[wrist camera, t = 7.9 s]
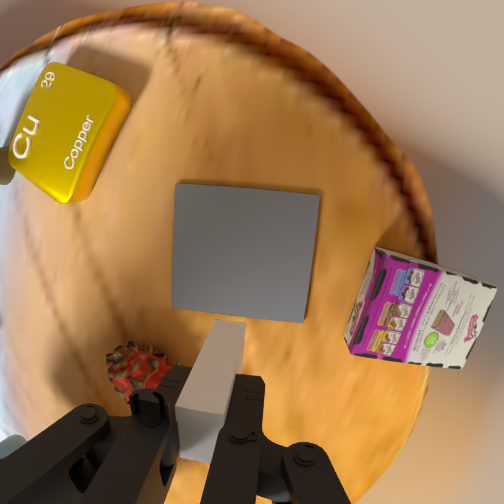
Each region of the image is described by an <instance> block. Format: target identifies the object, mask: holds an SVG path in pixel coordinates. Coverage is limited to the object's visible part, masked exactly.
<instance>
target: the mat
mask: <svg viewBox="0 0 504 504" xmlns="http://www.w3.org/2000/svg"><path fill="white" fill-rule="evenodd" d="M319 201H320V195H313V194H304V193H295V192H286V191H275V190H265V189H253V188H241V187H227V186H212V185H195V184H176V188H175V205H174V227H173V266H172V307H174V308H181V309H187V310H194V311H201V312H208V313H216V314H223V315H231V316H239V317H248V318H256V319H266V320H275V321H285V322H296V323H303V321H304V315H305V309H306V302H307V296H308V289H309V282H310V275H311V268H312V260H313V253H314V245H315V237H316V228H317V219H318V210H319Z"/></svg>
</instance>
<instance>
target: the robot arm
mask: <svg viewBox="0 0 504 504" xmlns="http://www.w3.org/2000/svg"><path fill="white" fill-rule="evenodd" d="M245 329H246V323H240V322H232V321H224V320H216V319H215V321H214V323H213V325H212V328H211V330H210V332H209V334H208V336H207V338H206V340H205V343H204V345H203V347H202V349H201V351H200V353H199V355H198V357H197V360H196V362H195V364H194V366H193V368H190V367H184V366H179V365H175V366H173V367H172V368H170V369H168V370H167V371H166V373H165V375H164V376H163V378H162V380H161V381H160V383H159V386H157V388H156V389H151V388H144V389H138V390H136V391H134V392H132V393H131V394H130V395H129V402H130V407H131V412H132V415H131V416H128V417H118V416H108V415H107V412H106V410H105V409H103V408H102V407H101V406H99V405H96V404H83V405H80V406H78V407H76V408H74V409H73V410H72V411H70V412H69V413H67V414H66V415H65V416H63V417H62V418H61V419H59V420H58V421H56V422H55V423H54V424H52V425H51V426H49V427H48V428H47V429H45V430H44V431H42V432H41V433H39V434H38V435H37V436H35V437H34V438H32V439H31V440H30V441H27V440H26V439H25V438H24V437H22V436H21V435H12V436H10V437H8V438H6V439H5V440H3V441H2V442H0V504H164V502H165V499H166V496H167V493H168V490H169V488H170V485H171V482H172V479H173V477H174V474H175V471H176V465H177V463H176V457H177V455H178V452H180V458H184V459H189V460H194V461H199V462H204V463H210V467H209V471H208V475H207V479H206V483H205V487H204V490H203V494H202V498H201V502H200V504H255V502H256V495H258V496H261V497H264V498H267V499H270V500H272V504H351V503H350V501H349V499H348V497H347V495H346V493H345V490H344V488H343V486H342V484H341V482H340V480H339V478H338V476H337V474H336V472H335V470H334V468H333V466H332V464H331V462H330V460H329V457H328V455H327V453H326V452H325V451H324V450H323V448H321V447H319V446H318V445H316V444H313V443H309V442H298V443H295V444H292V445H290V446H289V447H284V446H281V445H278V444H276V443H273V442H272V441H270V440H269V439H268V438H267V437H266V436H265V435H264V433H263V431H262V420H263V408H264V396H265V383H264V381H263V379H262V378H261V376H252V375H243V374H241V372H242V364H243V352H244V340H245Z"/></svg>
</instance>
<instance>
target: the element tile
mask: <svg viewBox="0 0 504 504" xmlns="http://www.w3.org/2000/svg"><path fill="white" fill-rule="evenodd" d="M131 106H132V96H131V95H130V93H129V92H128V91H126V90H125V89H123V88H121V87H119V86H117V85H116V84H114V83H112V82H110V81H107V80H104V79H102V78H99V77H97V76H94V75H91V74H89V73H86V72H83V71H81V70H78V69H75V68H72V67H69V66H67V65H64V64H61V63H58V62H53V63H50V64H48V65H47V66H46V67H45V68H44V70H43V71H42V73H41V74H40V76H39V78H38V80H37V82H36V84H35V86H34V88H33V90H32V93H31V95H30V97H29V99H28V101H27V104H26V106H25V108H24V111H23V113H22V116H21V118H20V121H19V123H18V126H17V128H16V131H15V134H14V137H13V139H12V142H11V145H10V149H9V153H8V160H9V163H10V165H11V166H12V167H13V168H14V169H15V170H16V171H18V172H19V173H20V174H21V175H23V176H24V177H25V178H26V179H28V180H29V181H30V182H32V183H33V184H34V185H35V186H37V187H38V188H39V189H41V190H42V191H43V192H45V193H46V194H47V195H48V196H50V197H51V198H52V199H54V200H55V201H57V202H59V203H63V204H67V203H73V202H80V201H84V200H86V199H87V198H88V197H89V196H90V194H91V192H92V190H93V187H94V185H95V183H96V180H97V178H98V175H99V173H100V171H101V169H102V166H103V164H104V162H105V160H106V157H107V155H108V153H109V151H110V149H111V147H112V145H113V143H114V141H115V139H116V136H117V134H118V132H119V131H120V129H121V127H122V125H123V123H124V121H125V119H126V117H127V115H128V113H129V112H130V109H131Z"/></svg>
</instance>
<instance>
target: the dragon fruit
mask: <svg viewBox="0 0 504 504" xmlns="http://www.w3.org/2000/svg"><path fill="white" fill-rule="evenodd" d="M146 344H147V345H148V347H147V348H146V349H145V350H144V349H143V350H142V351H140V350H139V349H138V346H137V344H135V343H134V342H133V341H128V346H127V347H125V346H121V345H120V346H118V347H117V348H116V349H115V350H114V351H113V352H114V353H110V354H108V355H107V354H106V355H107V357H106V364H107V366H108V367H110V368H108V371H107V374H108V378H109V380H110V382H111V383H112V384H113V383H114V384H115V387H114V389H115V390H116V392H117V393H118V395H119V396H120V397H122V398H124V400H125V402H126V403H127V404H130V402H129V395H130V394H131V393H132V392H134V391H136V390H138V389H144V388H151V389H156V388H157V386H159V383H160V381H161V380H162V378H163V376H164V375H165V373H166V371H167V370H168V369H170V368H172V367H173V366H168V365H166V363H165V361H166V359H167V354H166V353H165V352H164V351H159V350H156V351H155V352H153V348H152V346H151V345H150V344H149V343H148V342H145V343H143V345H142V346H144V345H146ZM157 354H161V355H163V356H162V357H156V356H154V355H157ZM176 363H177V364H176V365H179V366H182V363H181V362H179V361H177V360H176Z"/></svg>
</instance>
